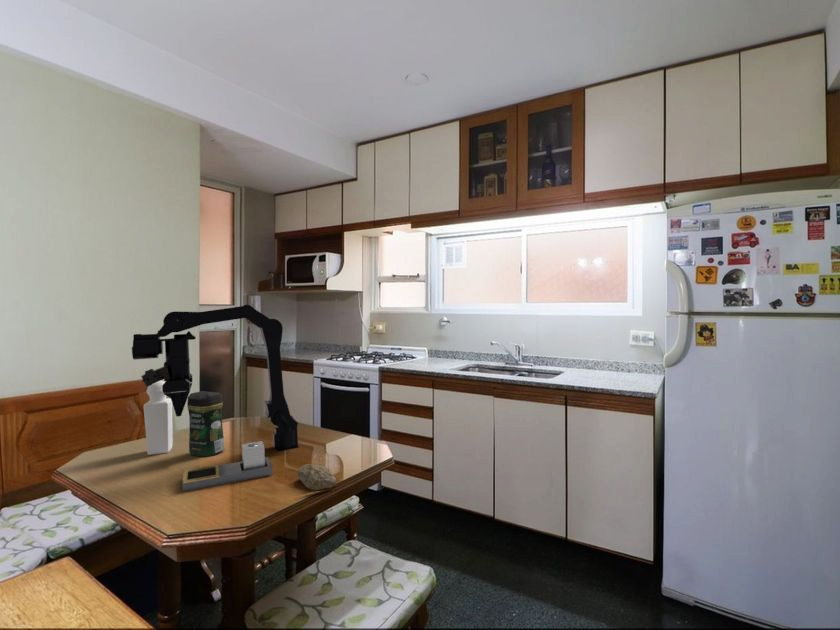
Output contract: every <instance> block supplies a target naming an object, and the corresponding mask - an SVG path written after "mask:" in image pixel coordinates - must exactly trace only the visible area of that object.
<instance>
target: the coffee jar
mask: <svg viewBox="0 0 840 630" xmlns="http://www.w3.org/2000/svg"><path fill="white" fill-rule="evenodd" d="M223 402H224V401H223V396H222V393H220V392H219V391H218V392H215V391H203V390H201V391H196V392H192V393H189V395H188V398H187V401H186V403H187V411H188V417H189V437H188V438H189V439H188V440H189V441H188V452H189V454H190V455H192V456H196V457H203V458H204V457H205V458H206V457H211V456H216V455H219V454H221V453H222V452H223V451H225V438H224V428H223V420H222V419H223V416H222V412H223V404H224V403H223Z"/></svg>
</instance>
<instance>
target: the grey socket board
mask: <svg viewBox="0 0 840 630" xmlns="http://www.w3.org/2000/svg"><path fill="white" fill-rule="evenodd" d="M182 476H183V477H182V482H181V483H182V484H181V485H182V492H189V491H194V490H201V489H206V488H210V487H215V486H221V485H226V484H232V483H238V482H243V481H248V480H253V479H260V478H264V477H268V476H273V466H272V464H271V461H270V459H269V457H268V456H267V457H266V456H265V467H261V468H256V469H250V470H244V471H243V461H237V462H236V461H235V462H231V463H224V464H214V465H209V466H202V467H197V468H191V469H185V470H184V471H183V475H182Z"/></svg>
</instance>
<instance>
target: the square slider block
mask: <svg viewBox="0 0 840 630" xmlns="http://www.w3.org/2000/svg"><path fill="white" fill-rule="evenodd" d="M265 453H266V451H265V444H264V442H263V441H262V440H261V441H260V440H259V441H254V442H247V443H242V444H241V454H242V455H241V457H242V461H243V471H244V470H250V469H256V468H261V467H265V457H266V456H265ZM242 461H241V462H242Z"/></svg>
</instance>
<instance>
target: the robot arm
mask: <svg viewBox="0 0 840 630" xmlns="http://www.w3.org/2000/svg"><path fill="white" fill-rule="evenodd" d="M240 319H245V320H246V321H249V322H250V323H251V324H253V325H254V326H256V327H258V328H259V331H260V334H261V337H262V340H263V343H264V347H265V349H266V363H267V372H268V375H267V376H268V383H269V399H268V400H264V401H263V402H264V404H265V405H264V406H265V416H266V418H267V419H269V420H270V422H271V424H272V425H274V426H276V427H274V433H273V434H272V438H273V439H272V443H273V445H272V446H273V448H274V449H275V450H276V451H277V452H280V451H287V450H293V449H298V448H300V445H299V440H298V439H299V437H298V425H299V423H298V421H297V420H296V419H295V418H294V417H293V416H292V415H291V413H290V410H289V405H288V403H287V399H286V397H285V391H284V382H283V371H282V370H283V367H282V358H281V345H282V341H283V327H284V326H283V324H282V322H281V321H279V320H278V319H276V318H269V317H268V316H266V315H265V314H263V313H262V312H260V311H258V310H257V309H255V307H253V306H252V305H250V304H244V305H240V306H233V307H227V308H221V309H219V308H218V309H213V310H206V311H170V312H169V313H167V314H165V315H164V317H163V320H162V321H163V325H162V327H160V329H159V330H157V332H156V333H150V334H149V333H147V334H146V333H145V334H143V333H134V334H133V337H132V338H133V339H132V347H131V354H132V359H133V360H136V361H137V360H146V359H148V360H149V359H159V356H160V355H163V353H164V352H165V361H164V362H163V366H162V367H159V368H156V369H153V368H150V369H149V370H146V371H144V374H142V375H141V379H142V382H143V384H144V385H145V387H147V388H148V386H150V385H152V384H153V383H156V382H158V381H164V382H165V383H164V384H163V385H162V390H163V393H164V395H166V397H168V398H170V399H171V401H172V408H173V410H174V414H175V417H181V416H182V415H183V412H184V409H185V405H186V403H187V402H188V396H189V395H190V392H191V388H192V385H193V374H192V373H191V372H190V371H191V370H190V369H191V368H190V367H191V366H190V362H191V360H190V359H191V358H190V345H189V342H190V341H191V340H195V339H196V338H197V337H196V336H195V335H194V334H193V333H191V331H190V330H189V329H193V328H196V327H199V326H202V325H207V324H214V323H221V322H228V321H232V320H233V321H234V320H240ZM186 330H189V331H187V332H186V333H180V332H183V331H186ZM172 333H176V334H174V335H173V338H172V337H171V338H164V337H167V336H169V335H170V334H172ZM163 343H164V345H163ZM163 346H164V347H163ZM164 349H165V350H164Z"/></svg>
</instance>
